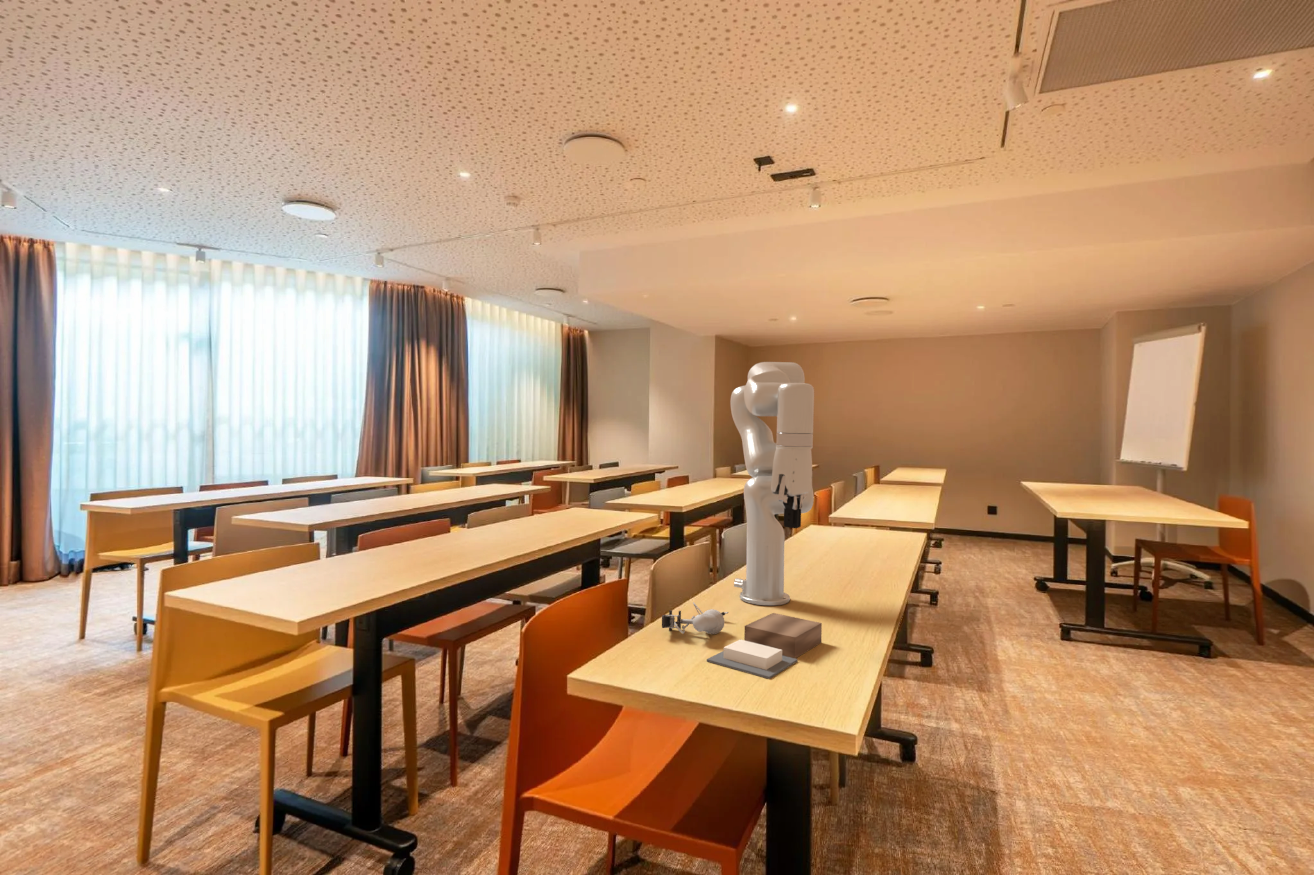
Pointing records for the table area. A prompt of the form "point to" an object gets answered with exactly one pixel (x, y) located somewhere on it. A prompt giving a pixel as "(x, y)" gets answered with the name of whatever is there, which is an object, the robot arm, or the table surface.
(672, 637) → the table surface
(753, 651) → the tile
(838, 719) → the table surface
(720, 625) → the clip-on lamp
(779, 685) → the table surface
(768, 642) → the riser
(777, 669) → the mat
